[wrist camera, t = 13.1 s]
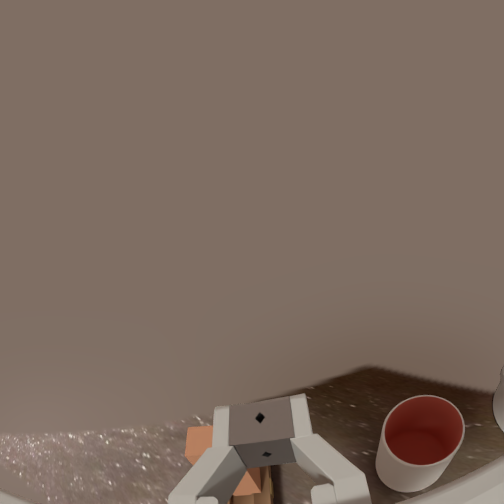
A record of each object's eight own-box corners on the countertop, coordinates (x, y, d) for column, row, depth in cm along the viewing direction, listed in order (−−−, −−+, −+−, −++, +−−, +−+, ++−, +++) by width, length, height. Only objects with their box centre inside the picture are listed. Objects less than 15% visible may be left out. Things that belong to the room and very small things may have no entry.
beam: (271, 444, 41) (267, 431, 39) (279, 548, 26) (274, 544, 24) (223, 450, 41) (215, 437, 40) (221, 551, 26) (211, 546, 25)
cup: (366, 446, 37) (371, 409, 32) (430, 424, 36) (445, 383, 32) (384, 505, 28) (396, 480, 23) (453, 477, 27) (478, 445, 23)
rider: (261, 472, 34) (236, 423, 28) (262, 495, 31) (236, 452, 25) (223, 475, 35) (188, 427, 29) (223, 498, 31) (184, 455, 26)
